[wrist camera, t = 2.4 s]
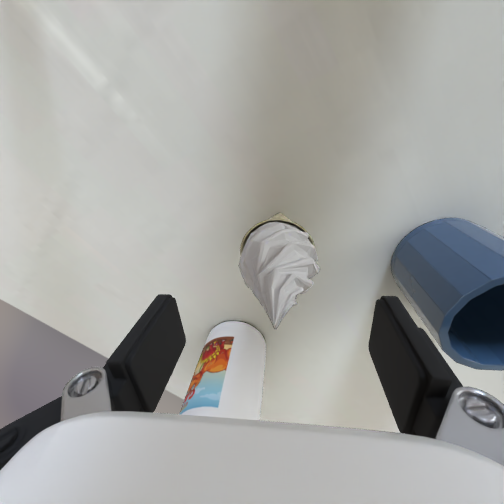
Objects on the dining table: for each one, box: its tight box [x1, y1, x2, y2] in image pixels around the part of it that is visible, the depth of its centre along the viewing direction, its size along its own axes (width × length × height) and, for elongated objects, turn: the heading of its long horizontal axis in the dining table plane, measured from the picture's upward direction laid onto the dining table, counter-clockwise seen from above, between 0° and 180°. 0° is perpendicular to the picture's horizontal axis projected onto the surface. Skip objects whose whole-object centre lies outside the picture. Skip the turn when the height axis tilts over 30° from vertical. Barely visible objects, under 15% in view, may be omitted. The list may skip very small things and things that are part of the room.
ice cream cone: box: [239, 213, 320, 329], centre depth 17 cm, size 5×5×15 cm
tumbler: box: [391, 218, 504, 371], centre depth 20 cm, size 8×8×9 cm
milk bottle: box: [180, 321, 266, 420], centre depth 23 cm, size 8×8×20 cm
